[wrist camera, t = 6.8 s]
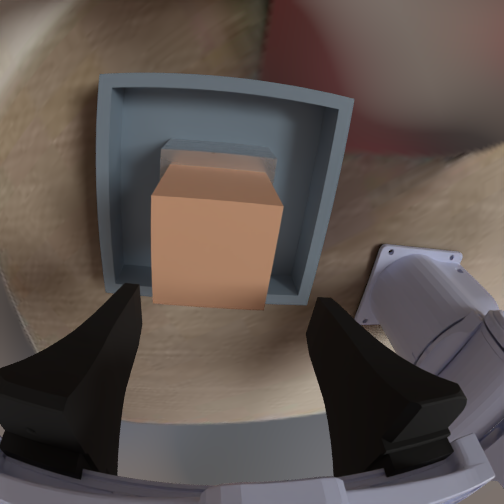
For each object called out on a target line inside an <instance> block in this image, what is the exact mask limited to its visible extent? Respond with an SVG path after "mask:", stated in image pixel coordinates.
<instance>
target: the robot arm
mask: <svg viewBox="0 0 504 504" xmlns="http://www.w3.org/2000/svg"><path fill="white" fill-rule="evenodd" d="M391 249H392V251H391V252H390V253H389V251H390V250H391ZM450 256H451V257H450ZM461 260H462V254H461V253H460V252H457V251H448V250H438V249H429V248H420V247H410V246H401V245H391V244H384V245H382V246H381V247H380V249H379V251H378V254H377V257H376V260H375V263H374V266H373V269H372V272H371V275H370V278H369V281H368V283H367V286H366V289H365V292H364V294H363V297H362V300H361V302H360V305H359V308H358V310H357V313H356V315H355V318H354V319H353V318H352V317H351V316H350V315H349V314H348V313H347V312H346V311H345V310H344V309H343V308H342V307H341V306H340V305H339V304H338V303H337V302H335V301H334V300H333V299H332V298H322V297H318V298H317V301H316V304H315V307H314V310H313V314H312V317H311V320H310V323H309V326H308V329H307V332H306V338H307V344H308V350H309V355H310V358H311V362H312V365H313V368H314V371H315V374H316V377H317V380H318V383H319V387H320V390H321V393H322V396H323V400H324V404H325V408H326V414H327V419H328V425H329V432H330V439H331V447H332V457H333V473H334V477H333V476H327V477H314V478H305V479H295V480H284V481H269V482H243V483H242V482H240V483H227V484H219V485H216V486H209V485H207V486H206V485H189V484H174V483H164V482H155V481H147V480H139V479H133V478H127V477H121V476H117V467H118V448H119V435H120V425H121V417H122V409H123V402H124V396H125V391H126V387H127V384H128V380H129V377H130V373H131V370H132V366H133V363H134V359H135V356H136V352H137V349H138V346H139V340H140V335H141V329H142V313H141V299H140V284H131V283H124V284H123V285H122V286H121V287H120V288H119V289H118V290H117V291H116V292H115V293H114V294H113V295H112V296H111V297H110V298H109V299H108V300H107V301H106V302H105V303H104V304H103V305H102V306H101V307H100V308H99V309H98V310H97V311H96V312H95V313H94V314H93V315H92V316H91V317H89V318H88V319H87V320H86V321H85V322H84V323H83V324H82V325H80V326H79V327H78V328H77V329H75V330H74V331H73V332H71V333H70V334H68V335H67V336H66V337H64V338H63V339H61V340H59V341H58V342H56V343H54V344H53V345H51V346H50V347H48V348H46V349H44V350H43V351H41V352H39V353H37V354H35V355H33V356H30V357H28V358H26V359H24V360H21V361H19V362H16V363H14V364H11V365H8V366H5V367H2V368H0V424H1V426H2V427H3V428H4V429H5V432H4V434H3V437H1V436H0V504H457V503H459V502H460V501H462V500H463V499H465V498H466V497H468V496H469V495H471V494H472V493H474V492H475V491H477V490H478V489H480V488H481V487H482V486H484V485H485V484H486V483H488V482H489V481H498V482H499V483H500V485H501V486H502V487H503V488H504V419H503V418H504V311H503V310H499V308H498V305H497V303H496V301H495V300H494V298H493V297H492V296H491V295H490V294H489V293H488V292H487V291H486V290H485V289H484V288H483V287H482V286H481V285H480V284H479V282H478V281H477V280H475V279H474V278H473V277H472V276H471V275H470V274H469V273H468V272H467V271H466V270H465V269H464V268H463V267H462V266H461V265H460V262H461ZM364 319H365V320H364ZM378 324H380V326H381V327H382V329H383V331H384V332H385V334H386V336H387V338H388V339H389V341H390V343H391V345H392V347H393V348H394V350H395V352H396V353H394V352H393V351H392V350H390V349H389V348H387V347H386V346H385V345H383V344H382V343H381V342H379V341H378V340H377V339H376V338H375V337H373V336H372V335H371V334H370V333H369V332H368V331H366V330H365V329H364V328H363V327H362V326H361V325H378ZM502 419H503V420H502ZM501 420H502V421H501ZM493 427H494V428H493ZM492 428H493V429H492ZM491 429H492V430H491ZM490 430H491V431H490Z"/></svg>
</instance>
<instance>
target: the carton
mask: <svg viewBox="0 0 504 504" xmlns="http://www.w3.org/2000/svg"><path fill="white" fill-rule="evenodd" d="M283 207H284V206H283V204H282V202H281V200H280V198H279V196H278V195H277V193H276V191H275V189H274V187H273V185H272V183H271V181H270V179H269V177H268V176H267V174H266V173H264V172H255V171H246V170H236V169H225V168H214V167H202V166H188V165H173V164H170V165H169V167H168V168H167V170H166V172H165V173H164V175H163V177H162V178H161V180H160V182H159V183H158V185H157V187H156V188H155V190H154V192H153V193H152V195H151V268H152V294H153V303H156V304H168V305H181V306H195V307H210V308H226V309H246V310H264V307H265V302H266V297H267V291H268V286H269V281H270V276H271V271H272V266H273V261H274V255H275V250H276V245H277V240H278V234H279V229H280V224H281V218H282V213H283Z"/></svg>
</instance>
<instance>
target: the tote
mask: <svg viewBox="0 0 504 504" xmlns="http://www.w3.org/2000/svg"><path fill="white" fill-rule="evenodd" d="M353 104H354V99H352V98H348V97H344V96H340V95H335V94H331V93H326V92H322V91H317V90H311V89H307V88H302V87H296V86H291V85H285V84H278V83H272V82H265V81H258V80H250V79H242V78H233V77H223V76H211V75H197V74H177V73H114V74H100V76H99V88H98V102H97V123H96V189H97V210H98V225H99V238H100V249H101V258H102V267H103V276H104V283H105V291H106V292H107V293H115V292H116V291H117V290H118V289H119V288H120V287H121V286H122V285H123V284H124V283H131V284H140V296H150V297H153V294H152V268H151V195H152V193H153V192H154V190H155V188H156V187H157V185H158V183H159V180H160V159H161V149H162V147H163V146H164V145H165V144H166V143H167V142H168V141H169V140H170V139H186V140H201V141H214V142H225V143H236V144H245V145H254V146H263V147H268V148H269V149H270V150H271V152H272V153H273V154H274V156H275V157H276V158H277V164H276V170H275V177H274V183H273V187H274V189H275V191H276V193H277V195H278V196H279V198H280V200H281V202H282V204H283V206H284V207H283V213H282V218H281V224H280V229H279V234H278V240H277V245H276V250H275V255H274V261H273V266H272V271H271V276H270V281H269V286H268V291H267V297H266V302H265V304H284V305H307V303H308V299H309V296H310V292H311V288H312V285H313V281H314V277H315V274H316V270H317V266H318V262H319V259H320V255H321V251H322V247H323V243H324V239H325V235H326V231H327V227H328V223H329V219H330V214H331V210H332V206H333V202H334V197H335V193H336V188H337V184H338V179H339V175H340V170H341V165H342V161H343V156H344V151H345V146H346V141H347V136H348V131H349V125H350V120H351V115H352V109H353Z"/></svg>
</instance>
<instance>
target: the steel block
mask: <svg viewBox="0 0 504 504" xmlns="http://www.w3.org/2000/svg"><path fill="white" fill-rule="evenodd" d="M170 164H173V165H188V166H202V167H214V168H225V169H236V170H246V171H255V172H264V173H266V174H267V176H268V177H269V179H270V181H271V183H272V185H273V183H274V177H275V170H276V164H277V158H276V157H275V156H274V154H273V153H272V152H271V150H270V149H269V148H268V147H263V146H254V145H245V144H236V143H225V142H214V141H201V140H186V139H170V140H169V141H168V142H167V143H166V144H165V145H164V146H163V147H162V149H161V159H160V180H161V178H162V177H163V175H164V173H165V172H166V170H167V168H168V167H169V165H170ZM160 180H159V182H160Z"/></svg>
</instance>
